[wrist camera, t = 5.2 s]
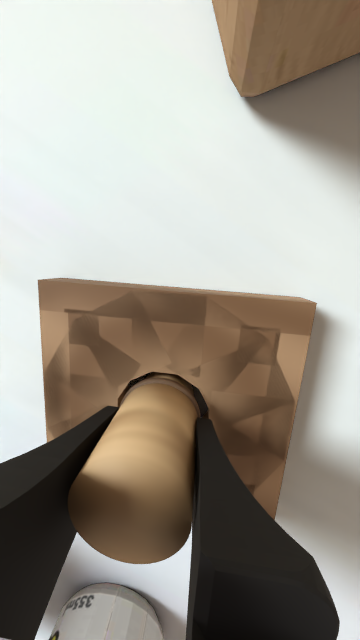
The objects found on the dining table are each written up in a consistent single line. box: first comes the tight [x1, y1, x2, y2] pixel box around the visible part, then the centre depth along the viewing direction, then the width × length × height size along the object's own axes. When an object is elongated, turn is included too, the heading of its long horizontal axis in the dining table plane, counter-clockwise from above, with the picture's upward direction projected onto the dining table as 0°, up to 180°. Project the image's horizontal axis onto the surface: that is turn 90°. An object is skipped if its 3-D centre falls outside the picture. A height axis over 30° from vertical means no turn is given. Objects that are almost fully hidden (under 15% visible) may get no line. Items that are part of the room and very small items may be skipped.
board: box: [38, 278, 317, 519], centre depth 14 cm, size 13×13×2 cm
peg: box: [68, 372, 200, 564], centre depth 11 cm, size 4×4×7 cm
